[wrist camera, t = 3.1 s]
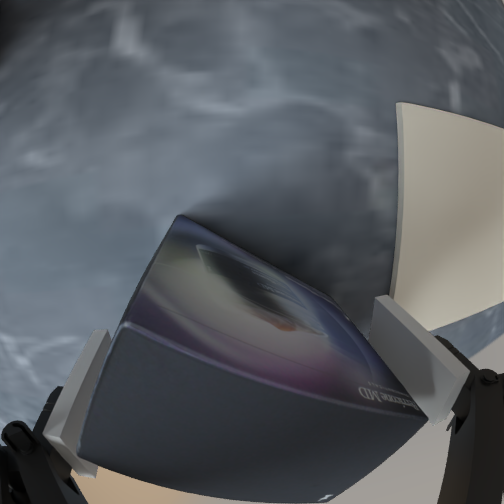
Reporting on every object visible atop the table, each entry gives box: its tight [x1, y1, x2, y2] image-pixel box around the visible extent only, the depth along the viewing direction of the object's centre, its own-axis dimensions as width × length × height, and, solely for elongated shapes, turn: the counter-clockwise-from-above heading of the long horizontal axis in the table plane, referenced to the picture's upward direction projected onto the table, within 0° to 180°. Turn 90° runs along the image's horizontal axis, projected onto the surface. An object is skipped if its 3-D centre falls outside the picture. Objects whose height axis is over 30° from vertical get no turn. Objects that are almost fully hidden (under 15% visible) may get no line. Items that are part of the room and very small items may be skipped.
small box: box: [76, 215, 429, 504], centre depth 11 cm, size 11×6×10 cm, turn 59°
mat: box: [389, 102, 504, 331], centre depth 17 cm, size 16×16×1 cm
